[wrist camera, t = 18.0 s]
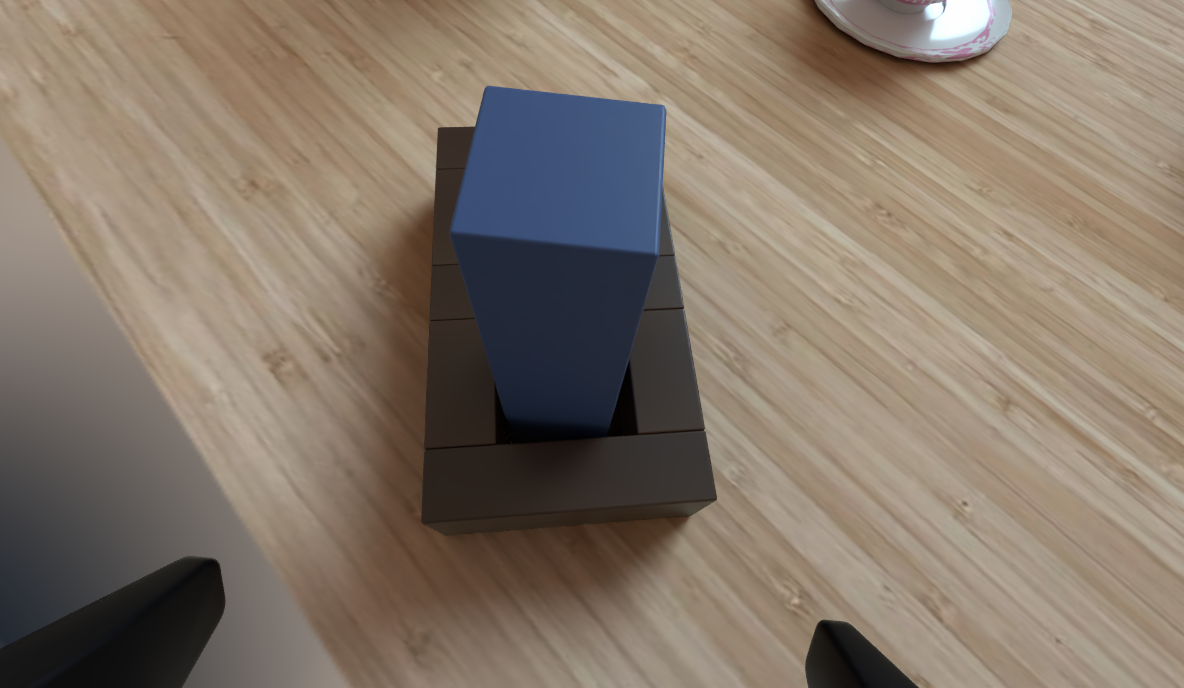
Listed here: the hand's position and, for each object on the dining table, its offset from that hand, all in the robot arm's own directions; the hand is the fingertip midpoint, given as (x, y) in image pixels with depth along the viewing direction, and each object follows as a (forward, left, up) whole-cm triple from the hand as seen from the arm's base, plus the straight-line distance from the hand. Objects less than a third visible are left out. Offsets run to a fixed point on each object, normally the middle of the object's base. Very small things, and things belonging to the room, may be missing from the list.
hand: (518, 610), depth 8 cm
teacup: (+31, -23, -11) cm, 40 cm away
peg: (+7, -1, -11) cm, 13 cm away
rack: (+10, -1, -11) cm, 15 cm away
